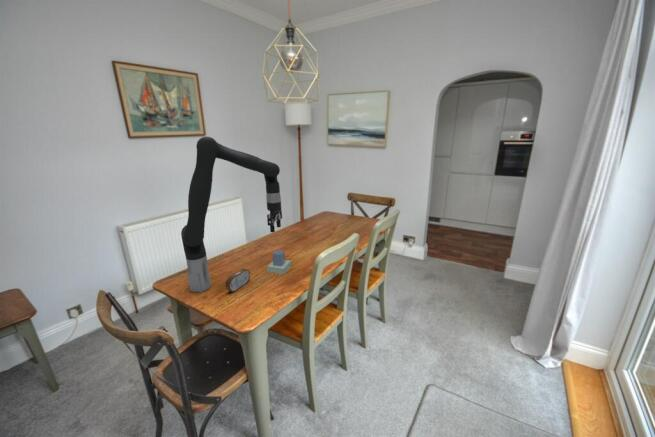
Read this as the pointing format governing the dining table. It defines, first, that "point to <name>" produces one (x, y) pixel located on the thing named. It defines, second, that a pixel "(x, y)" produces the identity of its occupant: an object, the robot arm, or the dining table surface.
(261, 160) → the robot arm
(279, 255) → the slate block
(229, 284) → the tin
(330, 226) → the dining table surface
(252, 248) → the dining table surface
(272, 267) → the sage tile
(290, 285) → the dining table surface
